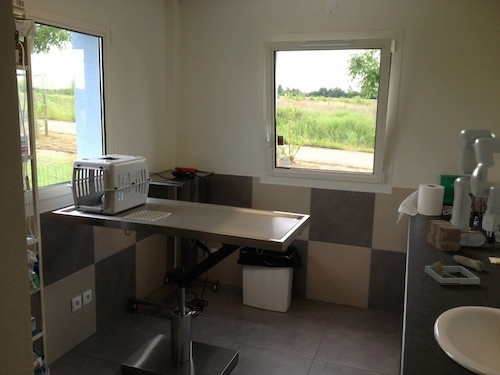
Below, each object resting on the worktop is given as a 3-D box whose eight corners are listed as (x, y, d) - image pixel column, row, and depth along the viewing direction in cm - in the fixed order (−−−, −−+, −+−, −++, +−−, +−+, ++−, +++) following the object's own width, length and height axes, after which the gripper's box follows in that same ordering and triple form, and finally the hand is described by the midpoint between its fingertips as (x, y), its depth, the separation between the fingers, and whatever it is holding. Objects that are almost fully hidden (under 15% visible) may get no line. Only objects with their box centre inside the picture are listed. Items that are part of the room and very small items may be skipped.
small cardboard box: (426, 240, 249) (428, 220, 246) (449, 240, 250) (452, 220, 248) (441, 251, 232) (443, 229, 230) (466, 251, 233) (469, 229, 231)
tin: (483, 246, 243) (485, 230, 241) (486, 248, 240) (488, 232, 238) (454, 244, 244) (456, 229, 243) (456, 246, 241) (458, 230, 240)
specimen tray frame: (424, 272, 202) (425, 265, 201) (460, 272, 203) (461, 266, 202) (440, 285, 187) (441, 278, 187) (479, 285, 189) (480, 278, 188)
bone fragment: (486, 270, 207) (487, 260, 206) (477, 272, 204) (478, 262, 203) (459, 261, 219) (460, 251, 218) (451, 263, 216) (452, 253, 215)
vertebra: (455, 285, 188) (444, 263, 188) (437, 291, 192) (426, 269, 192) (458, 275, 197) (447, 254, 198) (441, 281, 201) (430, 260, 202)
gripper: (479, 206, 246) (475, 239, 250) (496, 213, 231) (491, 247, 235) (492, 206, 247) (488, 239, 250) (510, 213, 232) (505, 248, 236)
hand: (489, 243), depth 243 cm, fingers closed
